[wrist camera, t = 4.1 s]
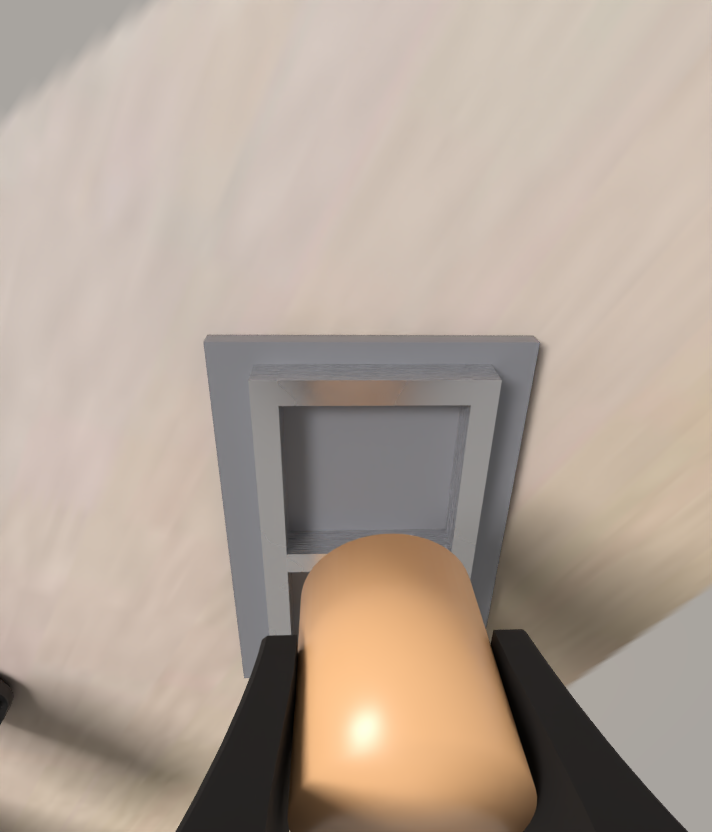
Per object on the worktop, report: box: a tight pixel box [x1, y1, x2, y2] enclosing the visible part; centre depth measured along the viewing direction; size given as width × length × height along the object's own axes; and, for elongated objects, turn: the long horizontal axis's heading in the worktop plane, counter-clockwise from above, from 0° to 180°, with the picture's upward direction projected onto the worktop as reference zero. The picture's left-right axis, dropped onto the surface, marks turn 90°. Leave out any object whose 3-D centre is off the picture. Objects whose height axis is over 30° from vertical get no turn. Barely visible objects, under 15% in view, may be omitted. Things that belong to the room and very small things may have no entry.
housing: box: [204, 335, 540, 678], centre depth 18 cm, size 10×15×5 cm, turn 179°
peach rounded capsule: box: [288, 534, 537, 832], centre depth 11 cm, size 4×4×4 cm
